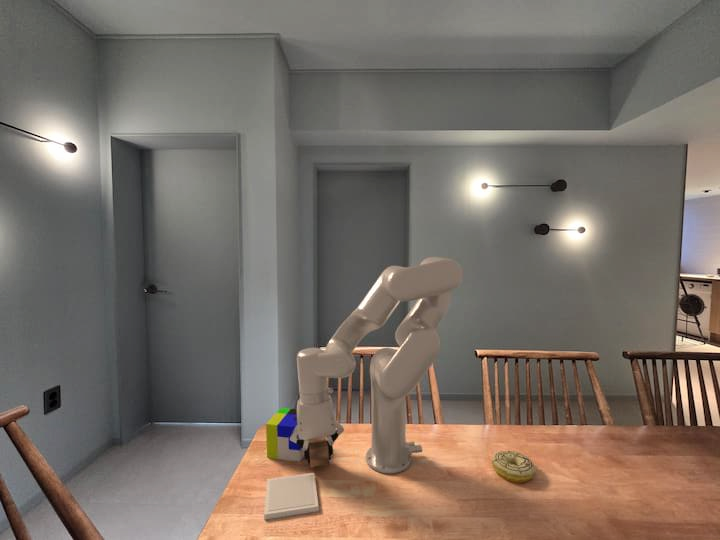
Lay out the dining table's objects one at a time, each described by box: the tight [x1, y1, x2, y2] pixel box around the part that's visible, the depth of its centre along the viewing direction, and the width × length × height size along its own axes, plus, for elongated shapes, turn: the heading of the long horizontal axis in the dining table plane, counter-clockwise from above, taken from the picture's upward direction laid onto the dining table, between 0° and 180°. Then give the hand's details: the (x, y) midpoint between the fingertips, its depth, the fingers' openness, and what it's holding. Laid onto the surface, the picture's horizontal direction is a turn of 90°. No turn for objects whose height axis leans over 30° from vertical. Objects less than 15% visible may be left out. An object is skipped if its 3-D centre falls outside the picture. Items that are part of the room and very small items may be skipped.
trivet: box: [263, 472, 320, 520], centre depth 86 cm, size 12×12×1 cm
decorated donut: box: [491, 450, 537, 484], centre depth 95 cm, size 10×11×4 cm
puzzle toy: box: [265, 407, 305, 462], centre depth 105 cm, size 10×10×10 cm
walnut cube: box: [308, 436, 330, 469], centre depth 97 cm, size 5×5×5 cm
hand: (319, 458), depth 97 cm, fingers closed on walnut cube, 5 cm apart
